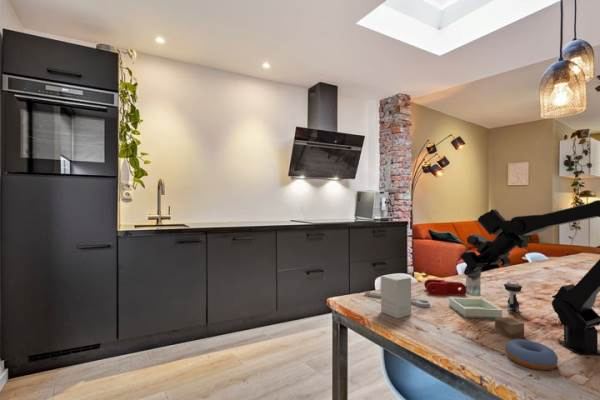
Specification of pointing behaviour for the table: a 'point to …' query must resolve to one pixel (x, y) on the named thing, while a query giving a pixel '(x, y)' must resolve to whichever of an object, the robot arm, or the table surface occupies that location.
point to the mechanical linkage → (444, 287)
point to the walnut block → (509, 327)
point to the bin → (475, 308)
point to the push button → (513, 296)
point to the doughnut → (531, 354)
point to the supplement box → (396, 295)
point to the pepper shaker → (473, 284)
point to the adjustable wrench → (414, 301)
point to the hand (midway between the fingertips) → (469, 273)
